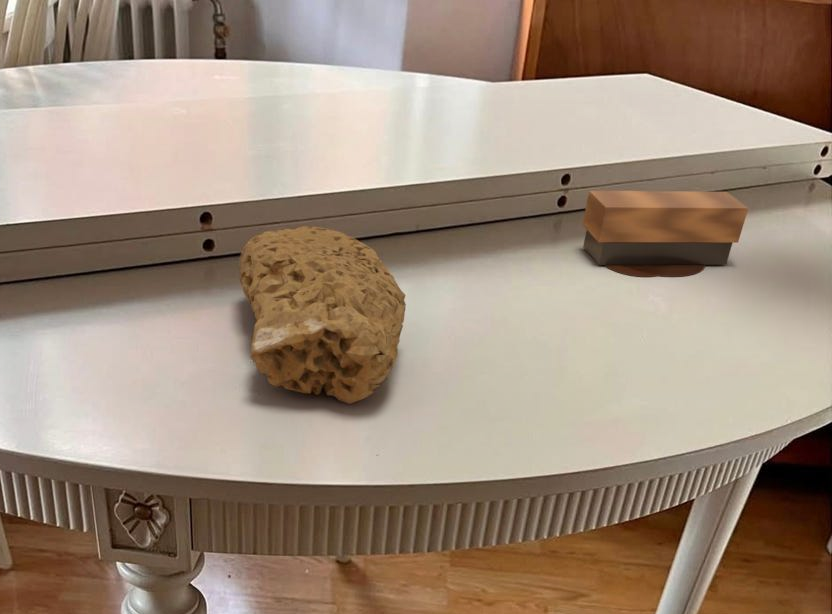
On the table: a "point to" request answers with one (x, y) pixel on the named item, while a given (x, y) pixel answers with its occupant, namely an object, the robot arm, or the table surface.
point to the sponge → (321, 311)
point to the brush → (662, 227)
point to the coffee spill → (657, 270)
